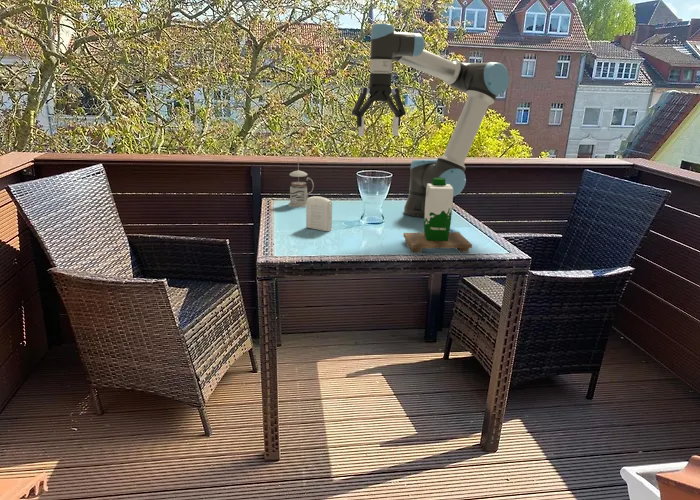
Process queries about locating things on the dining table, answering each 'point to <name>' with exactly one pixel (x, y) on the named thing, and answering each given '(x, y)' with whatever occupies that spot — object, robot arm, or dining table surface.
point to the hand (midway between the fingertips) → (378, 135)
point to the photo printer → (319, 213)
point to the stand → (436, 242)
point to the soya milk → (438, 210)
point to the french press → (299, 188)
